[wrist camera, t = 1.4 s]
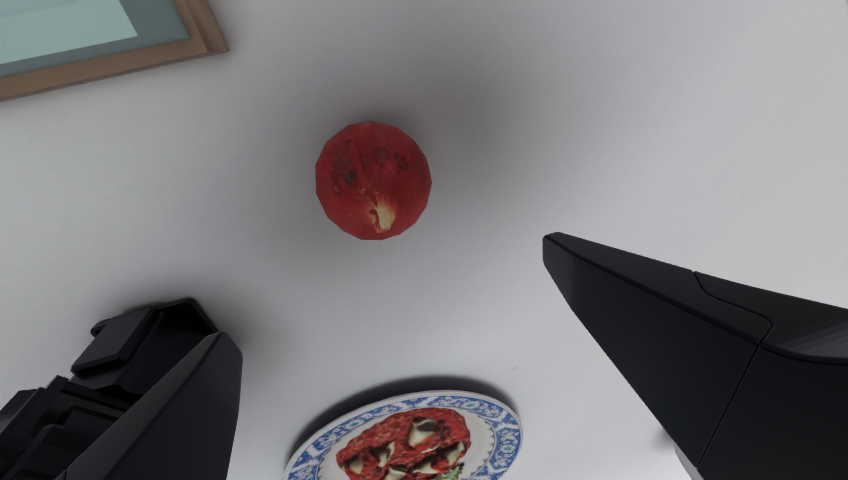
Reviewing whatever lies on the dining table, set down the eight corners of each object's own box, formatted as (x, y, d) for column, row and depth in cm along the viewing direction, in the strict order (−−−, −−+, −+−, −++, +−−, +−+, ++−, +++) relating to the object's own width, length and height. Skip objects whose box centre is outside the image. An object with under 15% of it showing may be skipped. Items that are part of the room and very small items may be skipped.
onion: (297, 151, 19) (273, 210, 12) (377, 88, 18) (396, 113, 12) (363, 221, 22) (371, 298, 15) (433, 169, 21) (475, 226, 15)
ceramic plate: (227, 445, 31) (217, 480, 28) (483, 334, 30) (496, 360, 28) (355, 529, 45) (356, 558, 42) (532, 453, 44) (543, 478, 42)
